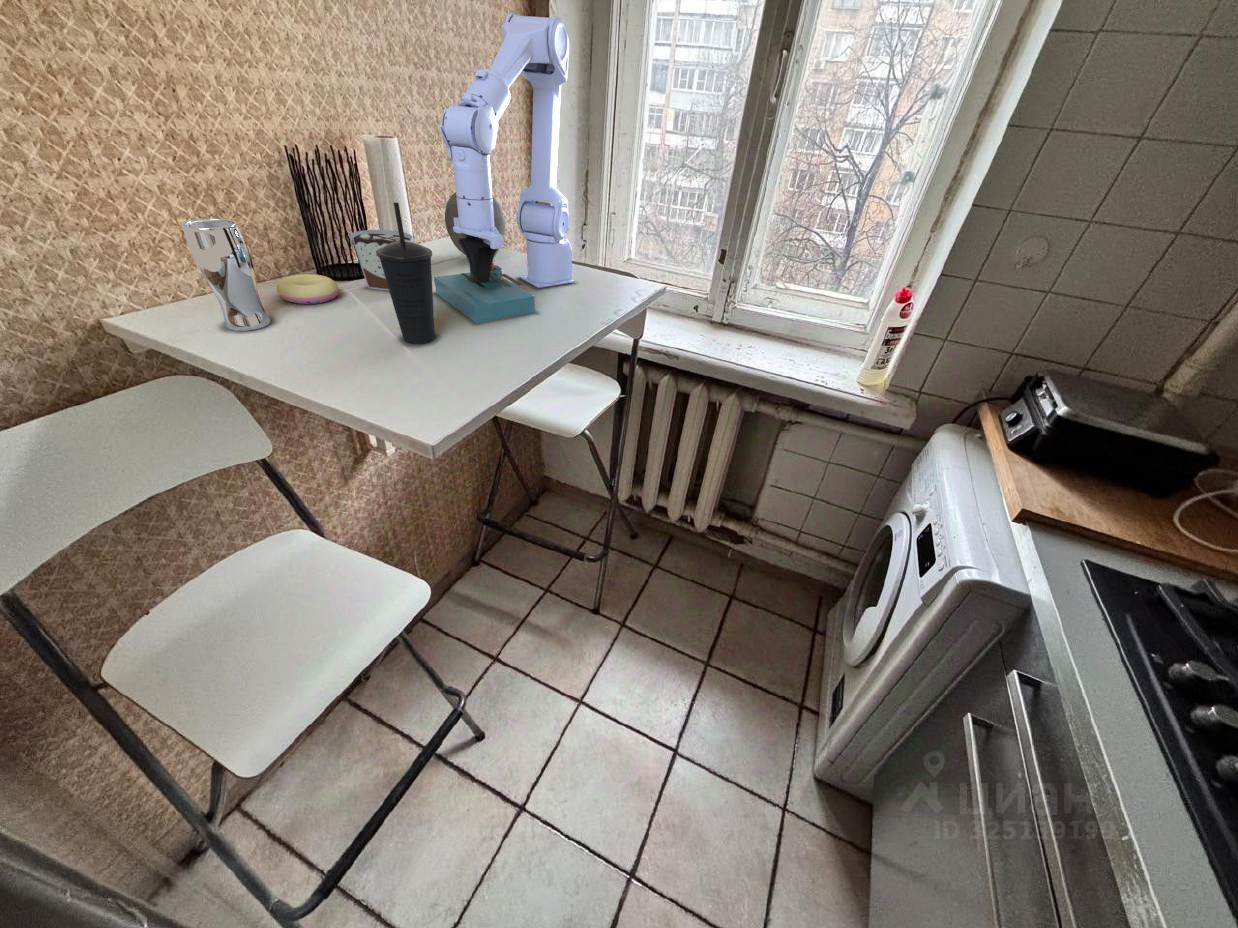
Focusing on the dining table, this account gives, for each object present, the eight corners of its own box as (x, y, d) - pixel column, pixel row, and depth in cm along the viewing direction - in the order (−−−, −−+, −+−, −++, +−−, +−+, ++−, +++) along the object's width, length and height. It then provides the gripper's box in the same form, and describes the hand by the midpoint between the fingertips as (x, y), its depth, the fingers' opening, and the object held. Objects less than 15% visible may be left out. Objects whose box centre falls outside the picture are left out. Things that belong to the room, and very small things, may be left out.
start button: (489, 267, 99) (488, 258, 98) (497, 272, 97) (496, 262, 96) (474, 269, 97) (474, 260, 96) (482, 273, 95) (481, 264, 94)
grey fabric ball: (519, 262, 120) (516, 193, 111) (467, 269, 111) (459, 196, 102) (489, 248, 127) (484, 183, 118) (438, 254, 119) (428, 185, 110)
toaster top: (496, 269, 97) (496, 269, 97) (523, 284, 91) (523, 284, 90) (453, 274, 92) (453, 274, 92) (479, 291, 86) (479, 291, 86)
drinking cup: (416, 353, 75) (390, 210, 64) (384, 339, 78) (353, 201, 66) (454, 338, 81) (436, 205, 69) (422, 326, 84) (400, 196, 72)
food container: (433, 285, 101) (426, 233, 95) (421, 294, 96) (412, 240, 90) (376, 278, 101) (365, 226, 95) (360, 287, 97) (348, 233, 91)
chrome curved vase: (284, 321, 81) (250, 223, 72) (245, 335, 76) (203, 231, 66) (251, 313, 82) (214, 216, 73) (211, 326, 77) (166, 223, 68)
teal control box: (491, 285, 104) (489, 261, 101) (535, 312, 93) (534, 286, 90) (436, 293, 97) (432, 267, 94) (476, 323, 87) (473, 295, 84)
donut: (311, 298, 96) (268, 305, 88) (303, 273, 94) (259, 278, 86) (352, 298, 93) (312, 306, 85) (345, 272, 91) (304, 277, 83)
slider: (481, 278, 90) (480, 264, 89) (486, 281, 89) (485, 266, 88) (467, 280, 89) (466, 265, 87) (472, 283, 88) (470, 268, 86)
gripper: (432, 190, 81) (443, 273, 90) (471, 206, 73) (479, 297, 81) (472, 189, 85) (479, 269, 93) (513, 204, 77) (517, 291, 85)
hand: (482, 281), depth 88 cm, fingers closed
